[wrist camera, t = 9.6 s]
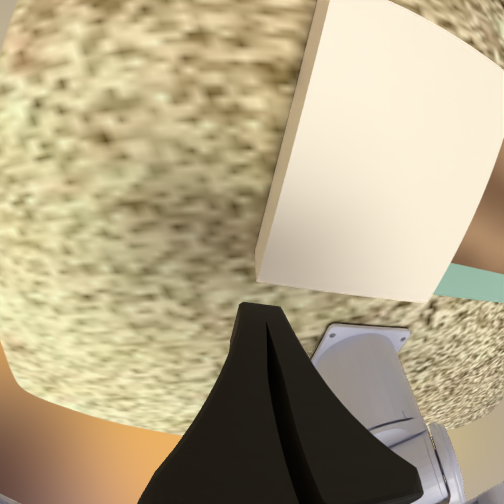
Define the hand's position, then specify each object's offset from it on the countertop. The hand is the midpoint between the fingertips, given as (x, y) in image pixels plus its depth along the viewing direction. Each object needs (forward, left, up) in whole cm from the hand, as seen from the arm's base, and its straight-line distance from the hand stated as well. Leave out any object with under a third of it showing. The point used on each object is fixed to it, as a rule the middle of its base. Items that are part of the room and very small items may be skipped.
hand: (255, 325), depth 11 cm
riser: (+5, -7, -9) cm, 13 cm away
